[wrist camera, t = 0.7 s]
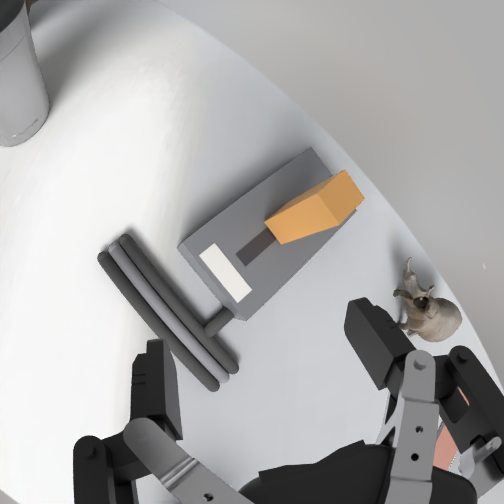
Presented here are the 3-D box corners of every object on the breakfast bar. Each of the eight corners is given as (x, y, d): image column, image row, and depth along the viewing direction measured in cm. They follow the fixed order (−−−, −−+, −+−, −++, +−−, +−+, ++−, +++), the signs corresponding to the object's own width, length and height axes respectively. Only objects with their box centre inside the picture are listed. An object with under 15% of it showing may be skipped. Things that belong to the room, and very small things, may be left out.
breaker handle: (263, 221, 31) (316, 193, 22) (288, 201, 33) (344, 169, 24) (281, 244, 32) (339, 224, 22) (304, 223, 33) (364, 198, 24)
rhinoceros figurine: (433, 362, 42) (478, 339, 29) (368, 335, 47) (395, 304, 34) (444, 323, 45) (486, 289, 33) (382, 297, 50) (409, 255, 37)
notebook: (441, 473, 47) (446, 475, 45) (414, 469, 43) (420, 472, 41) (482, 379, 55) (488, 379, 53) (464, 359, 51) (470, 359, 50)
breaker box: (176, 248, 32) (182, 242, 28) (295, 159, 39) (311, 146, 36) (233, 318, 33) (246, 321, 30) (338, 217, 41) (357, 210, 37)
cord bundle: (95, 257, 29) (94, 256, 27) (166, 203, 32) (167, 199, 31) (211, 392, 31) (214, 395, 30) (272, 334, 35) (277, 335, 33)
